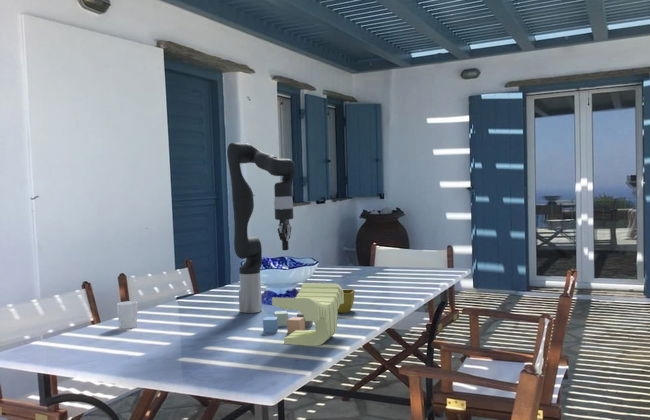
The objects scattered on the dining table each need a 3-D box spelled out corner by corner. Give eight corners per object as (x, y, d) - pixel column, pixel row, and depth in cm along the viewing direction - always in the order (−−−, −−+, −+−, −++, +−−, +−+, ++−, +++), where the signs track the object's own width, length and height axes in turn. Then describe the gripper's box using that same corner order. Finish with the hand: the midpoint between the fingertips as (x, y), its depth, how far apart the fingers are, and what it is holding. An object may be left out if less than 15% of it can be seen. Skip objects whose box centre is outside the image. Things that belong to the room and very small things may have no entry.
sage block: (275, 326, 234) (275, 314, 234) (274, 323, 239) (274, 311, 239) (288, 325, 235) (287, 313, 235) (287, 323, 240) (286, 310, 240)
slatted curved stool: (319, 352, 194) (316, 298, 194) (274, 350, 199) (271, 297, 199) (345, 330, 223) (343, 283, 222) (305, 329, 228) (303, 282, 227)
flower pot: (352, 314, 252) (351, 292, 252) (332, 313, 254) (331, 292, 254) (355, 309, 261) (354, 289, 260) (335, 309, 262) (335, 289, 262)
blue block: (263, 333, 224) (262, 320, 224) (265, 330, 229) (264, 317, 229) (276, 332, 224) (276, 319, 224) (278, 329, 229) (277, 316, 229)
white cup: (119, 330, 238) (118, 305, 237) (116, 326, 245) (115, 302, 244) (139, 327, 241) (138, 303, 241) (136, 324, 248) (135, 300, 248)
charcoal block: (297, 327, 232) (296, 314, 232) (300, 324, 237) (300, 311, 237) (309, 327, 231) (309, 314, 231) (312, 324, 236) (312, 311, 236)
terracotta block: (287, 333, 223) (287, 319, 223) (292, 329, 228) (292, 316, 228) (299, 333, 221) (299, 320, 221) (304, 330, 226) (304, 317, 226)
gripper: (279, 207, 249) (281, 248, 250) (270, 208, 236) (272, 252, 237) (296, 206, 248) (298, 248, 248) (288, 208, 235) (290, 251, 236)
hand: (285, 250), depth 243 cm, fingers closed
